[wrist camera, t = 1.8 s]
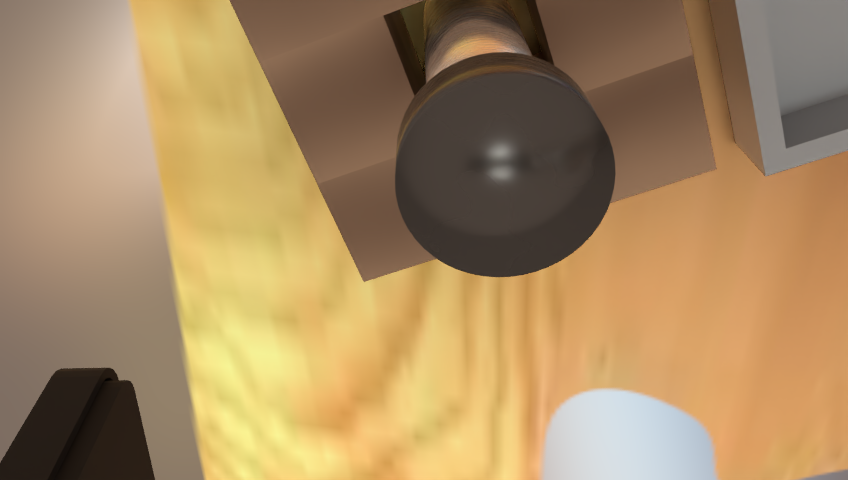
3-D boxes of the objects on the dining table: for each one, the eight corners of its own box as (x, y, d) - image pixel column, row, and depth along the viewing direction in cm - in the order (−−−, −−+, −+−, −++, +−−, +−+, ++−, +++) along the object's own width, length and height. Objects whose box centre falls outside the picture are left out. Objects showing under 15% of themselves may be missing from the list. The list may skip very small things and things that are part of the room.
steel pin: (545, 53, 29) (637, 240, 17) (428, 94, 29) (438, 301, 17) (508, -70, 27) (584, 43, 15) (384, -23, 27) (360, 122, 15)
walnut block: (672, 113, 30) (716, 168, 25) (370, 214, 32) (363, 281, 27) (591, -242, 24) (630, -249, 20) (232, -94, 26) (196, -71, 22)
